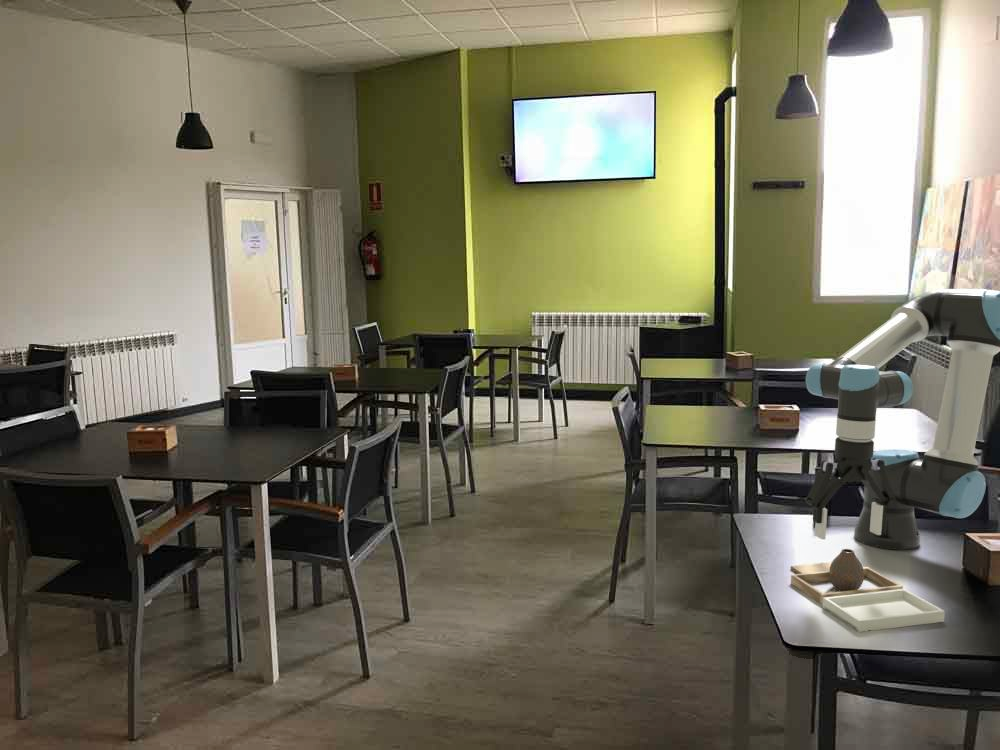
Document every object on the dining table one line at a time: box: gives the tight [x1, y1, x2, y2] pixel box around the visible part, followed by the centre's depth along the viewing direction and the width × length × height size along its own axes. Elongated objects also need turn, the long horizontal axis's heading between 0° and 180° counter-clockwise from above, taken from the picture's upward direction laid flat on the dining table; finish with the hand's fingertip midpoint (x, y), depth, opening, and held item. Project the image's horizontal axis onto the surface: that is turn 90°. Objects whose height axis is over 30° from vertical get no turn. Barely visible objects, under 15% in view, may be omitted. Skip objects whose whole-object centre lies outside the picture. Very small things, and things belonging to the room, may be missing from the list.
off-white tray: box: [822, 588, 946, 633], centre depth 168 cm, size 19×11×2 cm, turn 104°
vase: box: [829, 548, 865, 592], centre depth 180 cm, size 7×7×9 cm
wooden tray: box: [790, 566, 904, 605], centre depth 181 cm, size 19×11×2 cm, turn 104°
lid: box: [790, 561, 832, 574], centre depth 191 cm, size 14×6×1 cm, turn 104°
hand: (847, 535), depth 179 cm, fingers open, 13 cm apart
